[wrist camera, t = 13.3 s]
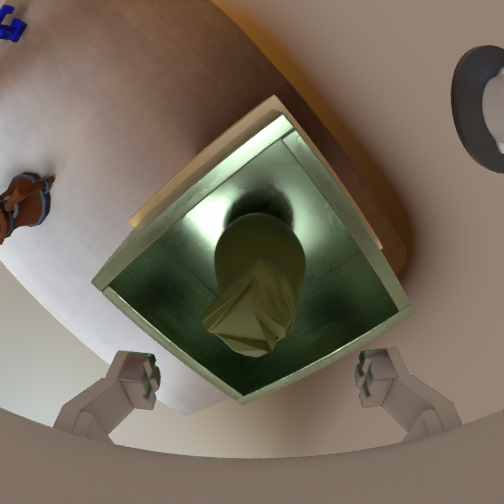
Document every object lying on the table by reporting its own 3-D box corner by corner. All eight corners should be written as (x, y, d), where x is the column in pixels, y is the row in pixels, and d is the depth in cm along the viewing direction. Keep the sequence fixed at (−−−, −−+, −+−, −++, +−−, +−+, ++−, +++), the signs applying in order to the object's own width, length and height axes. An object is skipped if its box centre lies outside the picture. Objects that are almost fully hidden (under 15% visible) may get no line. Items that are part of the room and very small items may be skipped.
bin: (319, 169, 48) (429, 312, 15) (251, 219, 52) (241, 412, 20) (264, 99, 43) (286, 87, 11) (195, 156, 47) (75, 280, 15)
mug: (55, 142, 45) (1, 161, 32) (82, 194, 50) (35, 226, 36) (5, 188, 49) (-41, 214, 35) (29, 232, 53) (-13, 267, 40)
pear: (261, 285, 23) (254, 392, 15) (205, 242, 22) (164, 339, 13) (314, 235, 21) (341, 333, 12) (257, 185, 20) (244, 258, 11)
